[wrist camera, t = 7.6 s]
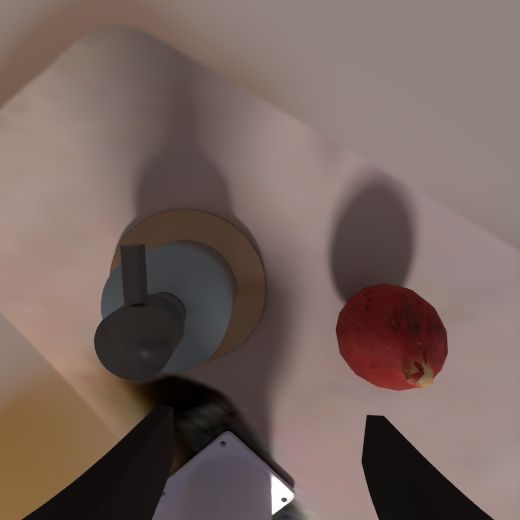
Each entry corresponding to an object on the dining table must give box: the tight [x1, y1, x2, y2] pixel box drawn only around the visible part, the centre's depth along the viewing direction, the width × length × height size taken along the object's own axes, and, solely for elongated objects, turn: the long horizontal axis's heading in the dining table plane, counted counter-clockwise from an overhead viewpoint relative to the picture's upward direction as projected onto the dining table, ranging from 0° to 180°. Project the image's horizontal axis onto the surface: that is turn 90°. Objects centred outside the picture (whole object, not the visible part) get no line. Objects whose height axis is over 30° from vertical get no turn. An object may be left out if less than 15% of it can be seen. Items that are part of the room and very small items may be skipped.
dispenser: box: [101, 210, 266, 371], centre depth 18 cm, size 11×11×6 cm
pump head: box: [94, 243, 184, 381], centre depth 13 cm, size 5×5×3 cm
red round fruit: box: [336, 284, 448, 391], centre depth 16 cm, size 6×6×8 cm
